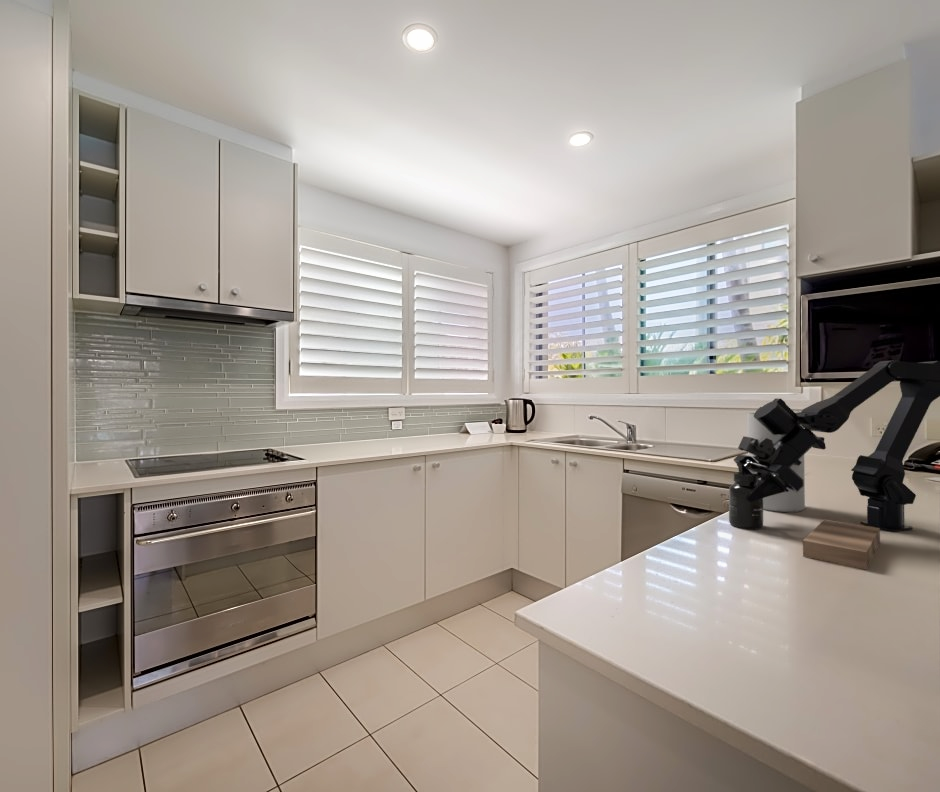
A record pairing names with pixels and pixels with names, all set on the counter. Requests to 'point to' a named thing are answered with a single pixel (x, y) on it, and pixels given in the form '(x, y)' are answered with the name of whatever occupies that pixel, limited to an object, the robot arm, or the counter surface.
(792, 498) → the cylinder vase
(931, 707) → the counter surface
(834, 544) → the walnut ledge
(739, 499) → the supplement bottle
